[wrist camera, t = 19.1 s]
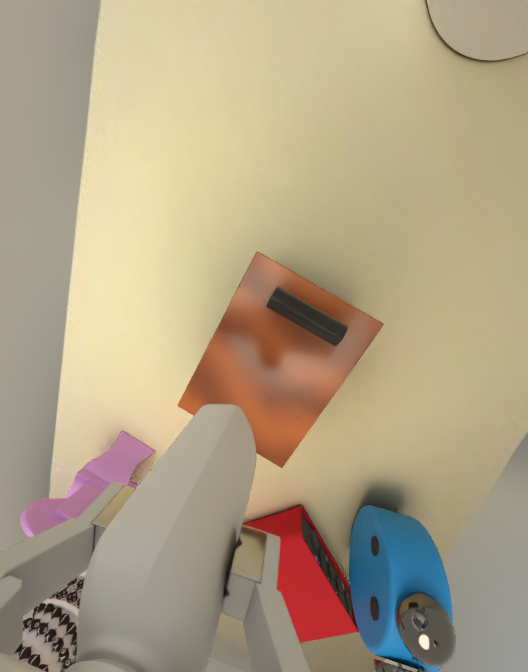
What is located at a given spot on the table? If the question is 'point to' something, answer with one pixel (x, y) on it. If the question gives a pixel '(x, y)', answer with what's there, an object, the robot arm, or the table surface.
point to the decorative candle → (53, 630)
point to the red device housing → (309, 578)
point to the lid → (279, 355)
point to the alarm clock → (400, 592)
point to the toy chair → (87, 485)
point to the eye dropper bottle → (170, 553)
